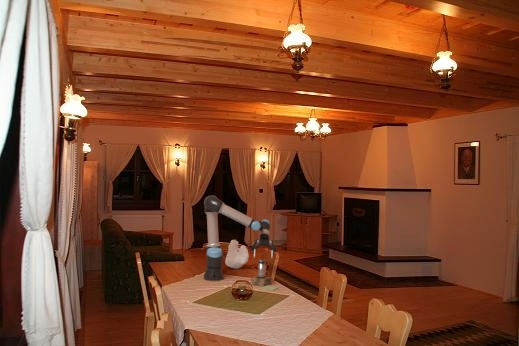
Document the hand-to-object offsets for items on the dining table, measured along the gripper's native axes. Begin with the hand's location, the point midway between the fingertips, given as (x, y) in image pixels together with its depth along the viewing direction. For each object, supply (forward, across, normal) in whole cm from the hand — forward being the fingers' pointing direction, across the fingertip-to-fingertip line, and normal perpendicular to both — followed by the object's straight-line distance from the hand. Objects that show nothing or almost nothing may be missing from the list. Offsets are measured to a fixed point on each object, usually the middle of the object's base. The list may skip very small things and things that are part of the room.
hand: (263, 257), depth 316 cm
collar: (+20, 0, -6) cm, 21 cm away
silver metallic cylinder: (+20, 0, -6) cm, 21 cm away
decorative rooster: (-21, +25, -47) cm, 57 cm away
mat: (+28, -7, +2) cm, 29 cm away
